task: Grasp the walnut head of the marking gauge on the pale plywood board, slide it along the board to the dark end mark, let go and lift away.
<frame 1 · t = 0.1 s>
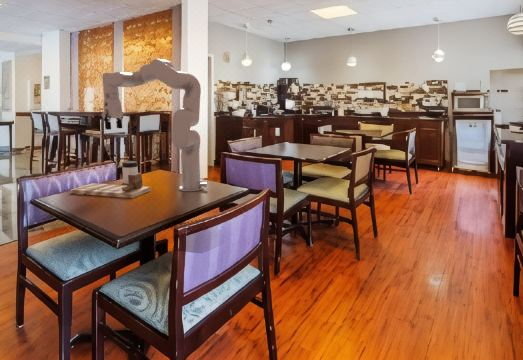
hand: (114, 128, 208), 31 cm above the table, tool pointing down, fingers open, 9 cm apart
jar: (131, 183, 219), on the table
board: (111, 192, 196), on the table
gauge: (131, 182, 192), point 6 cm above the table, slide at 0.0 cm
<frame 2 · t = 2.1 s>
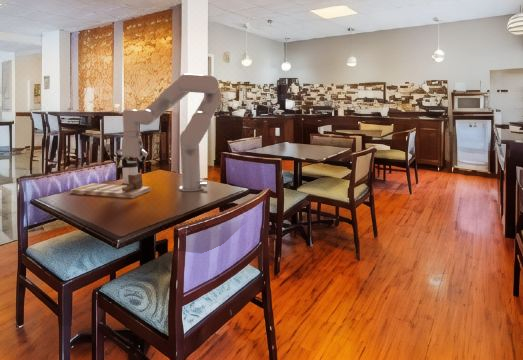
hand: (133, 168, 194), 12 cm above the table, tool pointing down, fingers open, 9 cm apart
nothing on the table moved.
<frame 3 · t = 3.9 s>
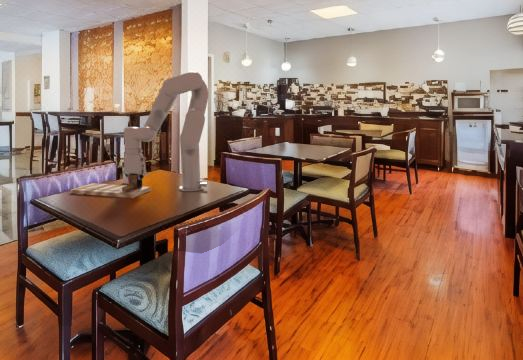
hand: (135, 186, 196), 3 cm above the table, tool pointing down, fingers closed on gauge, 4 cm apart
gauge: (131, 182, 192), point 6 cm above the table, slide at 0.0 cm, touching gripper
everything else where it was.
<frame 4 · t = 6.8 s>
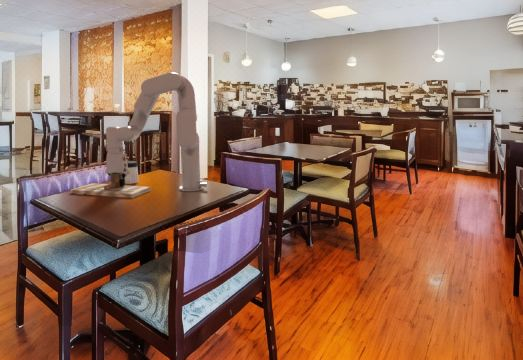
hand: (118, 185, 199), 3 cm above the table, tool pointing down, fingers closed on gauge, 4 cm apart
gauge: (113, 181, 195), point 6 cm above the table, slide at 10.4 cm, touching gripper
everything else where it was.
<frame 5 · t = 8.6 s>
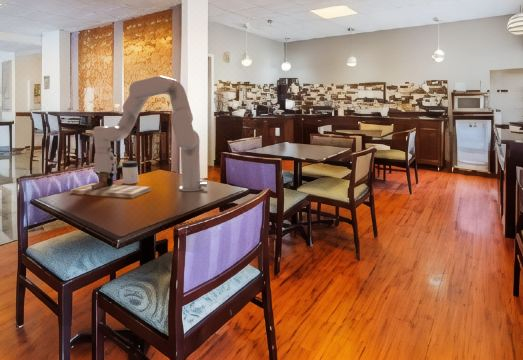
hand: (106, 184, 201), 3 cm above the table, tool pointing down, fingers closed on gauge, 4 cm apart
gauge: (101, 180, 197), point 6 cm above the table, slide at 17.8 cm, touching gripper
everything else where it was.
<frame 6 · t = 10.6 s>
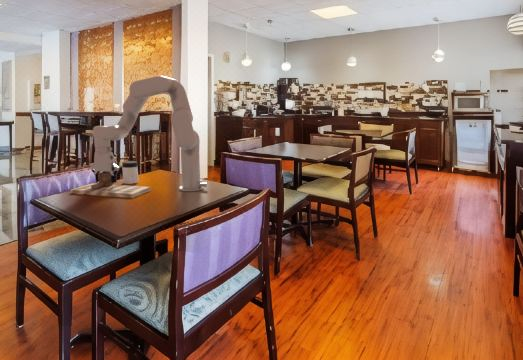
hand: (106, 182, 200), 4 cm above the table, tool pointing down, fingers open, 9 cm apart
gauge: (101, 180, 197), point 6 cm above the table, slide at 18.0 cm
everything else where it was.
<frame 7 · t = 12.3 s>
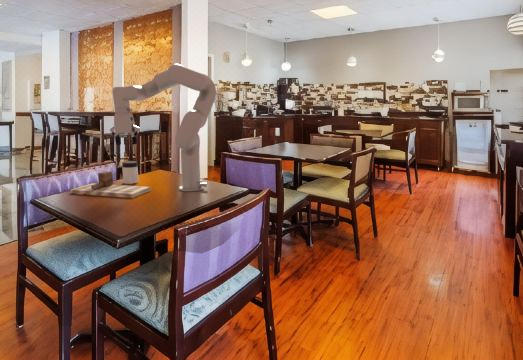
hand: (126, 144, 200), 24 cm above the table, tool pointing down, fingers open, 9 cm apart
nothing on the table moved.
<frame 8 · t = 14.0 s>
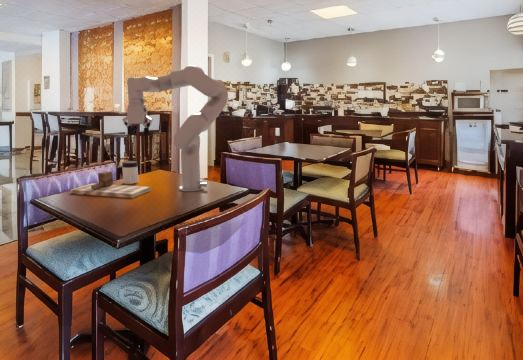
hand: (138, 135, 201), 28 cm above the table, tool pointing down, fingers open, 9 cm apart
nothing on the table moved.
at the end: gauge slide at 18.0 cm; the gripper is holding nothing; jar moved 0.2 cm from its start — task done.
